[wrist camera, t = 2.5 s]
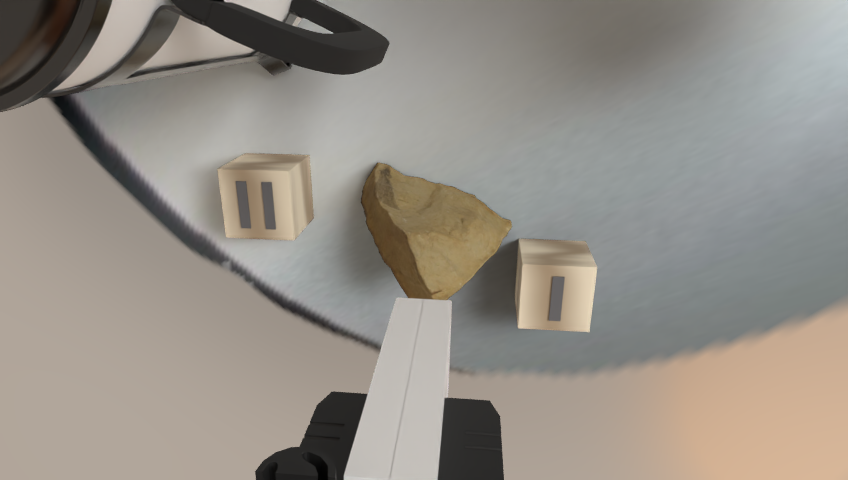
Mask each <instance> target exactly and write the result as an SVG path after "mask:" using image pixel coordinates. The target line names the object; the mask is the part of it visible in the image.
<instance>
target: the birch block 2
mask: <svg viewBox="0 0 848 480" xmlns="http://www.w3.org/2000/svg"><path fill="white" fill-rule="evenodd" d="M596 273H597V266H596V264H595V261H594V259H593V257H592V255H591V252H590V250H589V248H588V246H587V244H586V241H567V240H542V239H519V243H518V257H517V272H516V286H515V304H516V314H517V323H518V328H524V329H543V330H561V331H580V332H589V330H590V322H591V314H592V306H593V298H594V289H595V281H596Z"/></svg>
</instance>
